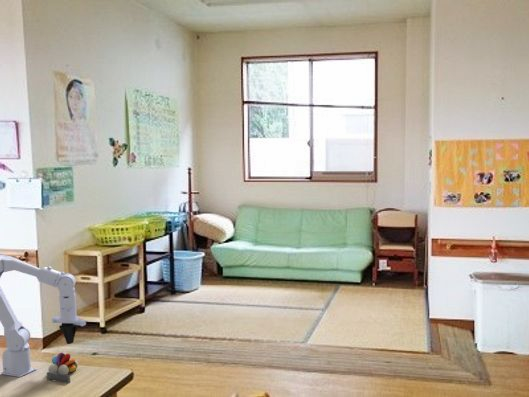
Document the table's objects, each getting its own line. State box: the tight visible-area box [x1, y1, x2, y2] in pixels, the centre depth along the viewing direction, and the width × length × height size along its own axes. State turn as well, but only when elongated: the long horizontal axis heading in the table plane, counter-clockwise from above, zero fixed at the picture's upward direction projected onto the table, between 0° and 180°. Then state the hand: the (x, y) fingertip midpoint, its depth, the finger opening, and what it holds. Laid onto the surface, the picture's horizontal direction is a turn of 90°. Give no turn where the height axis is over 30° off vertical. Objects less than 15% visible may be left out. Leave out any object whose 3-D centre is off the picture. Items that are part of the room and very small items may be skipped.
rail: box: [46, 371, 71, 384], centre depth 200 cm, size 10×1×2 cm, turn 66°
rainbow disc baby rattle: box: [47, 352, 79, 375], centre depth 208 cm, size 8×10×7 cm
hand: (70, 343), depth 212 cm, fingers closed
